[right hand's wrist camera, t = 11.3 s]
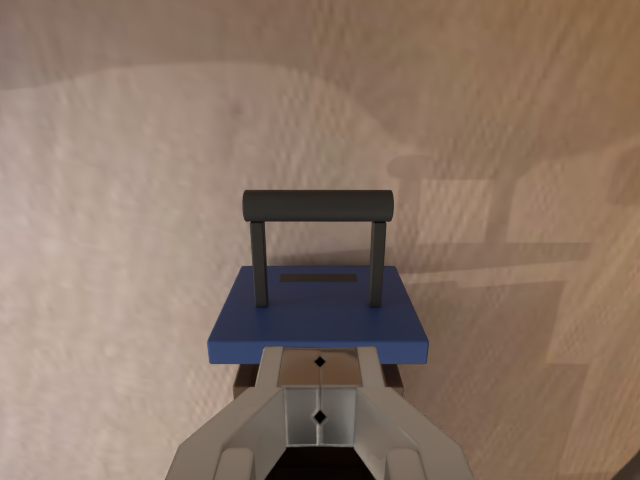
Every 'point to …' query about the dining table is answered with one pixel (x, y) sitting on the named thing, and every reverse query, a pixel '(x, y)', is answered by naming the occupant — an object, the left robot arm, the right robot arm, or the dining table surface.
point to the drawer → (318, 310)
